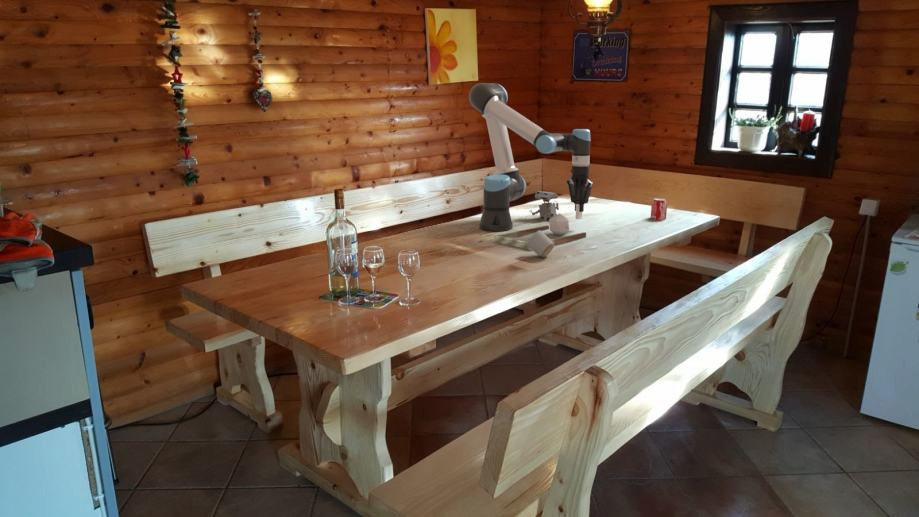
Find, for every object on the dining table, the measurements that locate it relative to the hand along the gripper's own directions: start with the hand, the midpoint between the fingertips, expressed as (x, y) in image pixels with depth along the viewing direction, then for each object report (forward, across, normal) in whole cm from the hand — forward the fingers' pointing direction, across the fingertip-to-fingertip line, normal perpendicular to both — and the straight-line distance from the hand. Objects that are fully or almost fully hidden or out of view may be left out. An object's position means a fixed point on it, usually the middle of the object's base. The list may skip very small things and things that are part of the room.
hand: (578, 218), depth 298 cm
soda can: (+7, +13, +44) cm, 46 cm away
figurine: (+6, -24, +6) cm, 26 cm away
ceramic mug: (+6, +18, -46) cm, 50 cm away
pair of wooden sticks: (+6, 0, -23) cm, 24 cm away
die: (+6, 0, -13) cm, 15 cm away
